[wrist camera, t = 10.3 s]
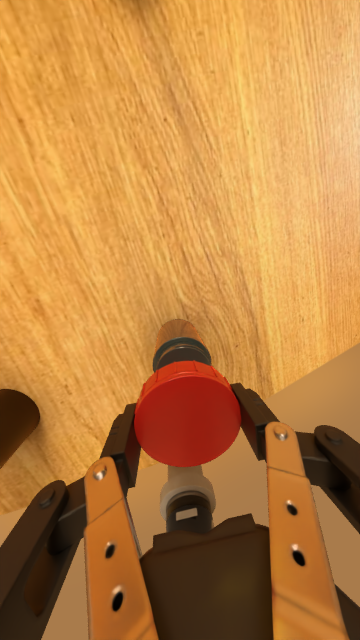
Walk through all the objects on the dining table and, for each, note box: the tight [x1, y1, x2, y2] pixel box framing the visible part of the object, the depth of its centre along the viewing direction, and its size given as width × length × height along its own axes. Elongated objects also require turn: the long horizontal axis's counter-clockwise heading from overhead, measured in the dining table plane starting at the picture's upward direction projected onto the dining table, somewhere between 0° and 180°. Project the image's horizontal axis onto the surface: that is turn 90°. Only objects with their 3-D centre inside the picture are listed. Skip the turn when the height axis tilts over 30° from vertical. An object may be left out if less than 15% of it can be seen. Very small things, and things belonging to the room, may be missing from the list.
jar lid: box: [134, 360, 241, 467], centre depth 11 cm, size 6×6×2 cm
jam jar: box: [153, 319, 211, 373], centre depth 20 cm, size 6×6×10 cm
